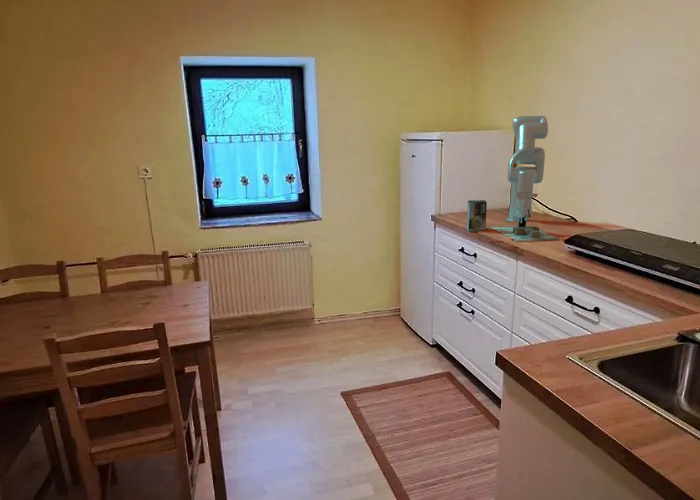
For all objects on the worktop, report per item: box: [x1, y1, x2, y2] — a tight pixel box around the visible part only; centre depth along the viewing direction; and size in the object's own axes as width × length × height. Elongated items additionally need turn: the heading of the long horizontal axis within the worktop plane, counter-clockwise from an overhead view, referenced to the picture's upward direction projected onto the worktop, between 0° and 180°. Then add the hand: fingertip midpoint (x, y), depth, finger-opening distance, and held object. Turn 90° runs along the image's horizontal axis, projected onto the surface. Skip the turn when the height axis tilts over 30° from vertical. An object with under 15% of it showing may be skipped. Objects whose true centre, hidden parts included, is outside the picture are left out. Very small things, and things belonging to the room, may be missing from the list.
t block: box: [512, 226, 540, 238], centre depth 226 cm, size 12×12×3 cm
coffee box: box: [466, 199, 488, 233], centre depth 241 cm, size 9×6×16 cm
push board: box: [490, 225, 560, 243], centre depth 233 cm, size 30×22×1 cm
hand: (521, 230), depth 234 cm, fingers closed
